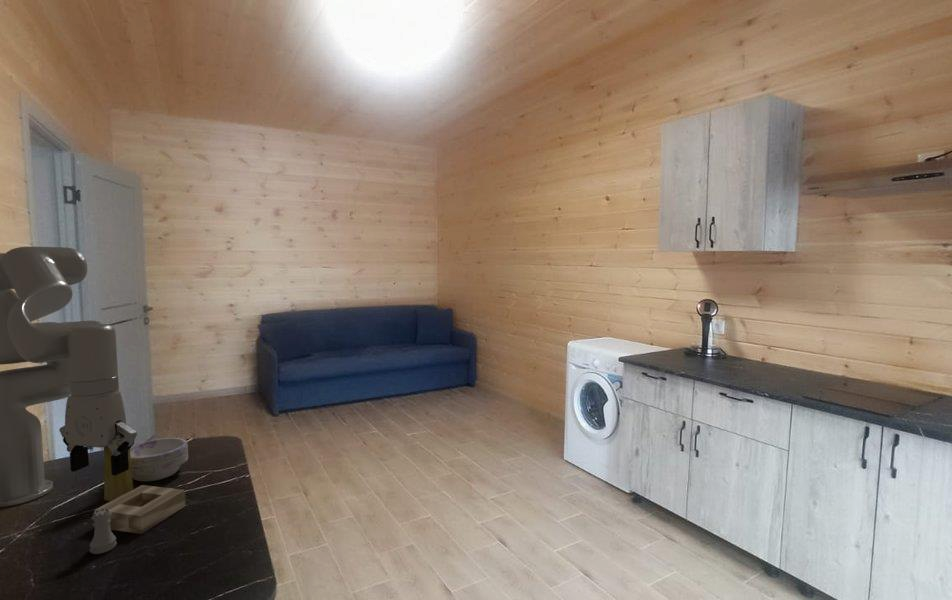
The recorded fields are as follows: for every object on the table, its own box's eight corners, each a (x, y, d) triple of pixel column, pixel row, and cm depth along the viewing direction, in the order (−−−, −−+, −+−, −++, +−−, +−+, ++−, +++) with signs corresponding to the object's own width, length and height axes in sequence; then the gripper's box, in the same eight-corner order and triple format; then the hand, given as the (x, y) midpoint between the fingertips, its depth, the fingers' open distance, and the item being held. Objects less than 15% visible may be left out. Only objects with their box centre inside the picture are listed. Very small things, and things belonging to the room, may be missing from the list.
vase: (117, 502, 116) (115, 445, 114) (97, 500, 117) (94, 443, 116) (140, 491, 121) (137, 436, 120) (120, 488, 123) (117, 434, 122)
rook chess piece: (84, 556, 95) (82, 518, 94) (96, 544, 99) (94, 506, 98) (111, 553, 96) (109, 515, 95) (121, 540, 100) (119, 504, 99)
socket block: (95, 527, 105) (94, 509, 105) (142, 500, 117) (142, 485, 116) (141, 533, 103) (140, 516, 102) (185, 506, 114) (184, 489, 114)
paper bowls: (149, 462, 139) (148, 435, 138) (200, 463, 138) (199, 437, 138) (107, 486, 124) (105, 457, 123) (164, 488, 123) (162, 458, 123)
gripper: (39, 389, 93) (45, 475, 94) (113, 393, 89) (119, 482, 91) (78, 380, 100) (83, 460, 101) (148, 384, 97) (152, 466, 98)
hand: (100, 470), depth 96 cm, fingers open, 9 cm apart
